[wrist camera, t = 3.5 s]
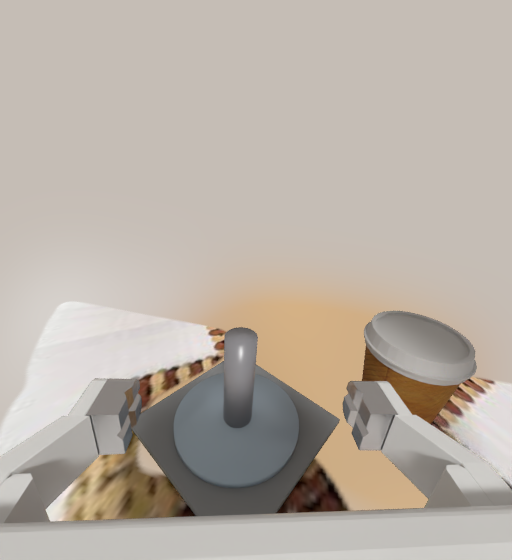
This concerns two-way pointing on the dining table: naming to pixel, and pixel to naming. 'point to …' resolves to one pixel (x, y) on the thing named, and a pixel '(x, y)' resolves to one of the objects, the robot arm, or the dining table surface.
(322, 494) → the dining table surface
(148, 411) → the mat
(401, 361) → the disposable coffee cup
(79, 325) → the dining table surface
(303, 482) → the dining table surface
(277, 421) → the lid
